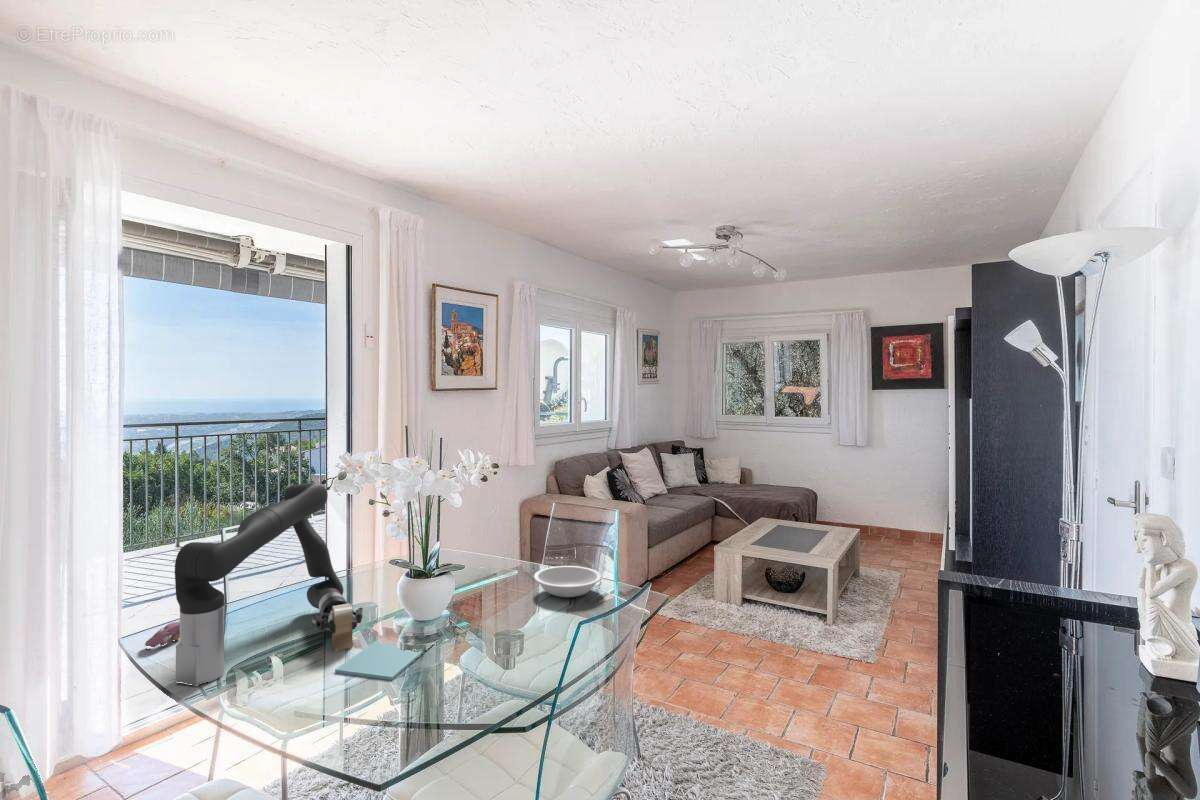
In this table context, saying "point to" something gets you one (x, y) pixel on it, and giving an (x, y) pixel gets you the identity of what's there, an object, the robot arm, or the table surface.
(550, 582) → the soup bowl
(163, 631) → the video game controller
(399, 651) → the board
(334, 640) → the wooden block
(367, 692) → the table surface
